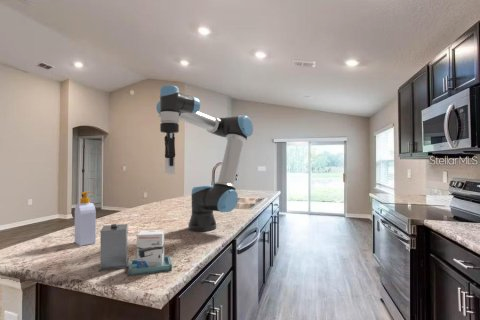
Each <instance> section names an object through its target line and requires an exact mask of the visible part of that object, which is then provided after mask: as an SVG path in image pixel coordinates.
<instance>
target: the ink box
mask: <svg viewBox="0 0 480 320" xmlns="http://www.w3.org/2000/svg"><path fill="white" fill-rule="evenodd" d="M164 256H165V230H164V229H163V230H162V229H160V230H159V229H158V230H154V229H152V230H140V231H139V232H138V233H137V234H136V259H137V268H144V267H153V266H161V265H163V264H164Z"/></svg>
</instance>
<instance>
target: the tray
mask: <svg viewBox="0 0 480 320" xmlns="http://www.w3.org/2000/svg"><path fill="white" fill-rule="evenodd" d="M172 270H173V265H172V259H171V256H170V255H164V264H163V265H161V266H153V267H144V268H137V258H136V259H129V263H128V277H131V276H139V275H146V274H147V275H148V274H154V273H162V272H170V271H172Z"/></svg>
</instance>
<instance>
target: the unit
mask: <svg viewBox="0 0 480 320" xmlns="http://www.w3.org/2000/svg"><path fill="white" fill-rule="evenodd" d="M129 263H130V257H128V223H123V224H118V223H112V224H109V225H103V226H102V228H101V230H100V264H99V268H98V272H104V271H112V270H119V269H121V268H122V269H129Z"/></svg>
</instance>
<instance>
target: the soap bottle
mask: <svg viewBox="0 0 480 320" xmlns="http://www.w3.org/2000/svg"><path fill="white" fill-rule="evenodd" d="M88 193H92V194H95V192H94V191H83V192H81V193H80V195H83V197H82V198H80V203H79V204H76V205H74V206H75V208H74V243H76V244H77V245H78V246H80V247H82V246H87V245H92V244H96V240H97V239H96V238H97V234H96V230H97V229H96V222H97V221H96V217H97V216H96V215H97V213H96V207H95V204H94V203H92V202H90V197H88Z"/></svg>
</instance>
